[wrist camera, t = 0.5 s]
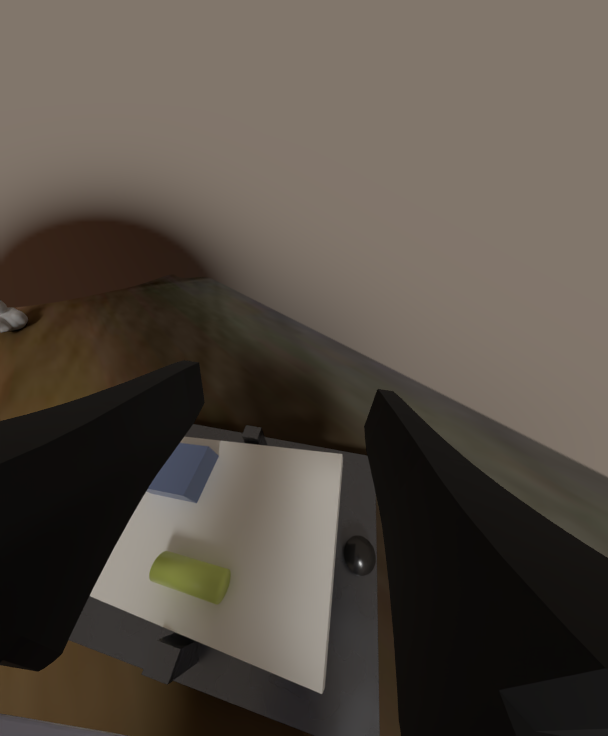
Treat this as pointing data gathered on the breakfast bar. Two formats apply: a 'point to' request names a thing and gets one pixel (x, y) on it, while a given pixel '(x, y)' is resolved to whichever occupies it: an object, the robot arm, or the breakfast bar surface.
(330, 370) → the breakfast bar surface
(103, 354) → the breakfast bar surface
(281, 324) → the breakfast bar surface
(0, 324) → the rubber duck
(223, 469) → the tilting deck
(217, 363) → the breakfast bar surface
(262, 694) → the base
